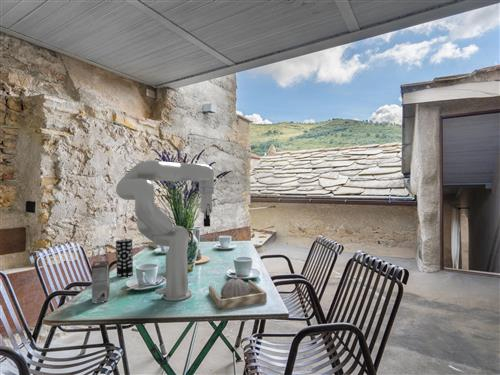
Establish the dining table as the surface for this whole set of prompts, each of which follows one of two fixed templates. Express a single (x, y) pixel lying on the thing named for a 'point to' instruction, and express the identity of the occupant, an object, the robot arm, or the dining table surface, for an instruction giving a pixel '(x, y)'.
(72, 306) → the dining table surface
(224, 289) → the sea urchin shell
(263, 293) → the box
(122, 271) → the white-spotted black cylinder
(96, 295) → the coffee box
